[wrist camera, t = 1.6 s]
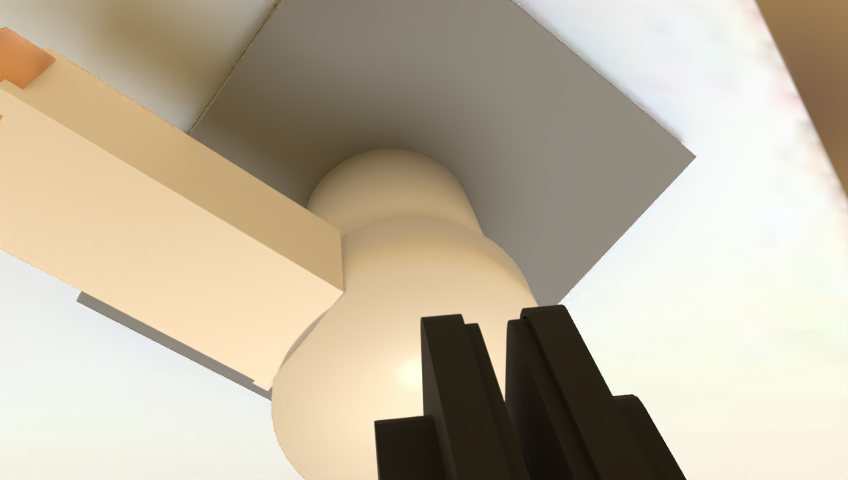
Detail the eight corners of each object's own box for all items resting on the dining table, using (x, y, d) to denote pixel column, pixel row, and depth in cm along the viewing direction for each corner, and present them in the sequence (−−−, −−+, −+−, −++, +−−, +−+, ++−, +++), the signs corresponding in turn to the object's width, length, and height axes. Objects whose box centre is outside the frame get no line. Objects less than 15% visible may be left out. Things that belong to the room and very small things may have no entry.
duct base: (85, 282, 34) (14, 421, 26) (364, -124, 28) (384, -107, 20) (400, 446, 40) (421, 599, 32) (681, 144, 34) (793, 238, 26)
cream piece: (582, 298, 26) (629, 379, 22) (427, 462, 29) (444, 560, 25) (66, -55, 20) (5, -28, 16) (-79, 198, 22) (-164, 276, 18)
